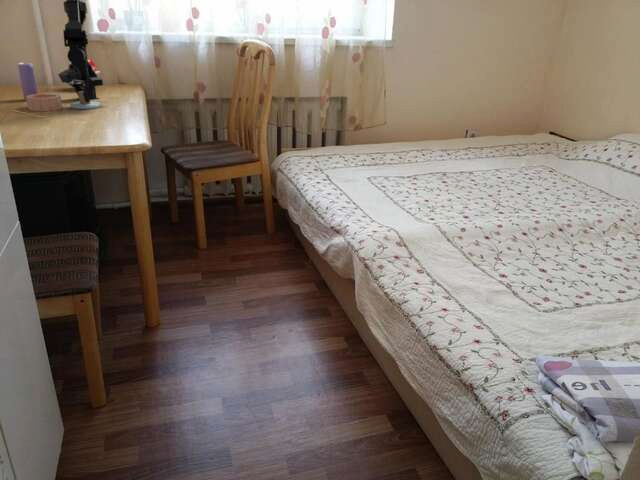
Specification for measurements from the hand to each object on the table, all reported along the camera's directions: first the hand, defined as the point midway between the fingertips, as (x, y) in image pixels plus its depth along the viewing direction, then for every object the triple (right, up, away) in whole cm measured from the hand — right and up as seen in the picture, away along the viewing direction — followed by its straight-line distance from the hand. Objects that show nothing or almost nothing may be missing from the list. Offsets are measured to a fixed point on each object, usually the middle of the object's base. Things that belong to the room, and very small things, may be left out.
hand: (84, 102), depth 214 cm
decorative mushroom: (-18, +17, +42) cm, 49 cm away
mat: (0, -2, +1) cm, 2 cm away
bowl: (-14, -3, -3) cm, 15 cm away
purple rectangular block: (-29, +4, +14) cm, 32 cm away
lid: (0, -2, +1) cm, 2 cm away
